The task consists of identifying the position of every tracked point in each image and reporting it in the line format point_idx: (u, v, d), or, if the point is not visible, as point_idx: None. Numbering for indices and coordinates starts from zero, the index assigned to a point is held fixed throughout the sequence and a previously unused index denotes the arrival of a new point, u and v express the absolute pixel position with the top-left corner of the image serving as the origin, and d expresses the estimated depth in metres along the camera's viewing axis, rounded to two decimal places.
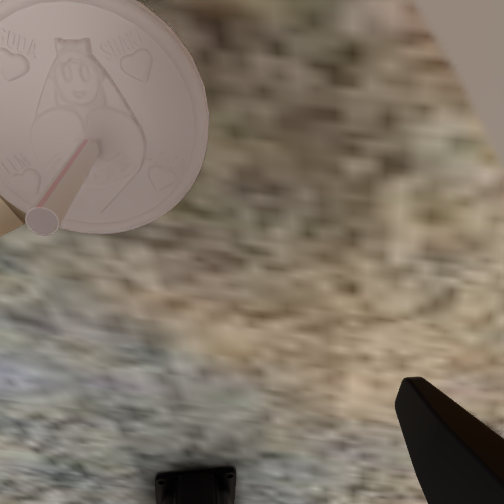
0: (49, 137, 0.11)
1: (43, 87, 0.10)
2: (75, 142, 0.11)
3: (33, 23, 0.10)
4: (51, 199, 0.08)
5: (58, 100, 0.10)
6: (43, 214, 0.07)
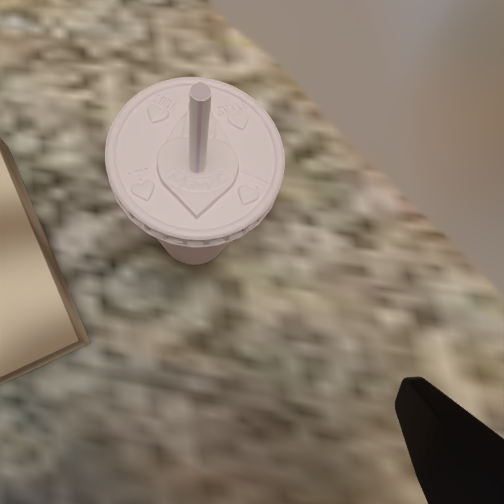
0: (171, 154, 0.15)
1: (175, 126, 0.15)
2: (189, 160, 0.15)
3: (176, 97, 0.16)
4: None
5: (183, 132, 0.15)
6: (201, 90, 0.11)
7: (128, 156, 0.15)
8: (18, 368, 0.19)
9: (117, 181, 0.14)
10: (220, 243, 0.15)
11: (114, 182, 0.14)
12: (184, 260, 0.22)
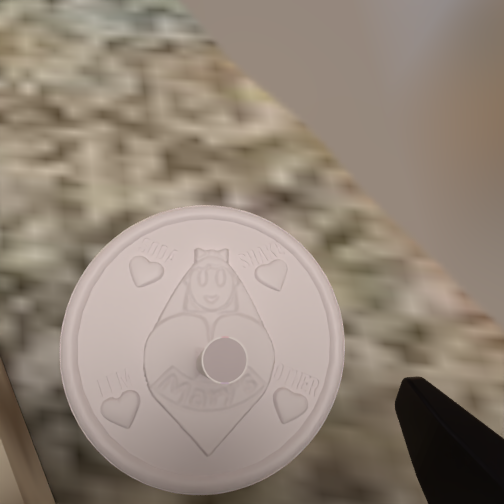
0: (167, 346, 0.09)
1: (173, 292, 0.09)
2: (195, 353, 0.09)
3: (175, 238, 0.10)
4: (231, 339, 0.06)
5: (187, 305, 0.09)
6: (225, 352, 0.05)
7: (97, 349, 0.09)
8: None
9: (78, 397, 0.09)
10: None
11: (73, 399, 0.09)
12: None
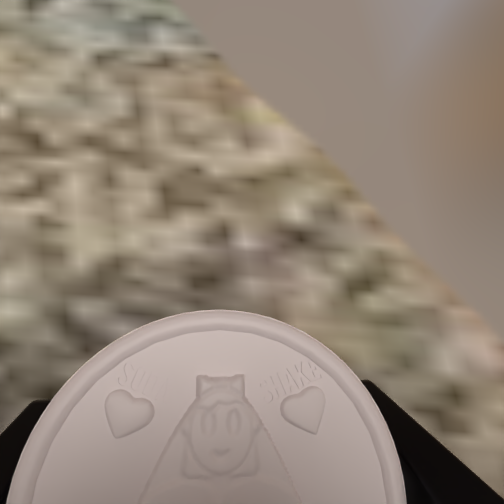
0: None
1: (167, 445, 0.07)
2: None
3: (170, 358, 0.07)
4: None
5: (186, 467, 0.07)
6: None
7: None
8: None
9: None
10: None
11: None
12: None
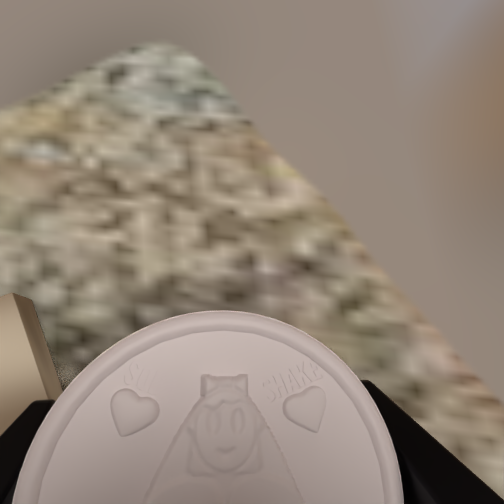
0: None
1: (172, 444, 0.07)
2: None
3: (175, 357, 0.07)
4: None
5: (191, 465, 0.07)
6: None
7: None
8: None
9: None
10: None
11: None
12: None
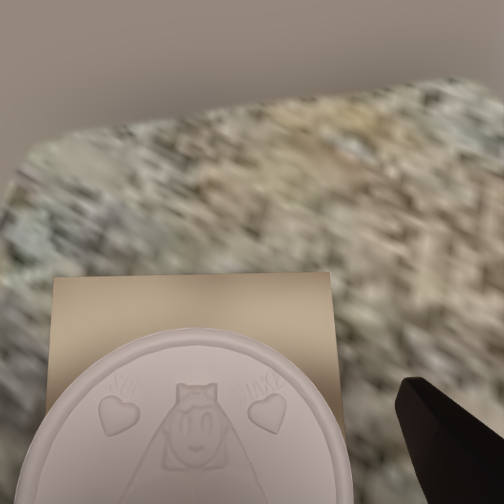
0: None
1: (150, 443, 0.08)
2: None
3: (155, 368, 0.09)
4: None
5: (166, 461, 0.08)
6: None
7: None
8: None
9: None
10: None
11: None
12: None
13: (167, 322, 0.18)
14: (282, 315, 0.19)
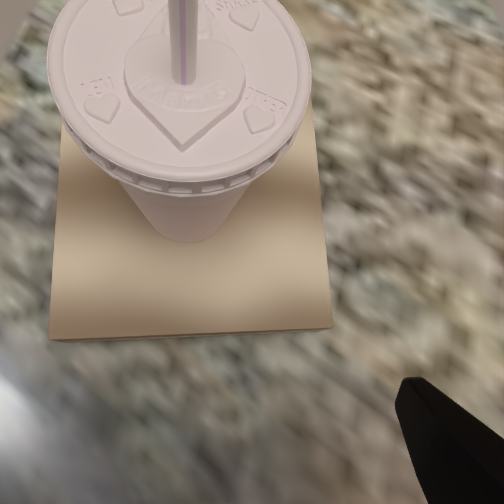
0: (146, 57, 0.10)
1: (152, 21, 0.10)
2: (172, 66, 0.10)
3: None
4: None
5: (165, 28, 0.10)
6: None
7: (82, 60, 0.10)
8: (272, 329, 0.19)
9: (63, 94, 0.09)
10: (217, 192, 0.10)
11: (59, 95, 0.09)
12: (172, 235, 0.17)
13: None
14: None
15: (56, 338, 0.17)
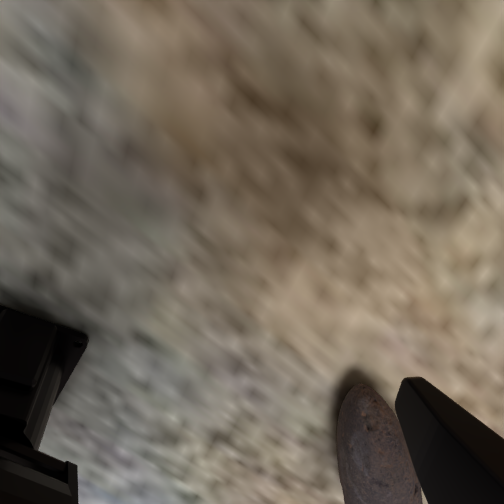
0: None
1: None
2: None
3: None
4: None
5: None
6: None
7: None
8: None
9: None
10: None
11: None
12: None
13: None
14: None
15: None
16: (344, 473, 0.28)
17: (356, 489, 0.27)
